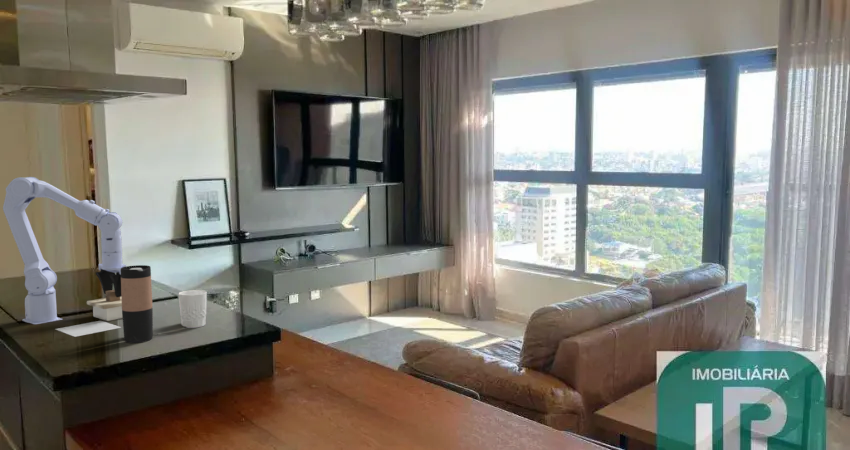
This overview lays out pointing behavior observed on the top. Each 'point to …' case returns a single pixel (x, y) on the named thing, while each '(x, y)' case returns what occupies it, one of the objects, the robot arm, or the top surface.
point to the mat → (88, 328)
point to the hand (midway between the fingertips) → (113, 294)
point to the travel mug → (137, 303)
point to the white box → (108, 313)
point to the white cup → (193, 308)
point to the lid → (107, 301)
